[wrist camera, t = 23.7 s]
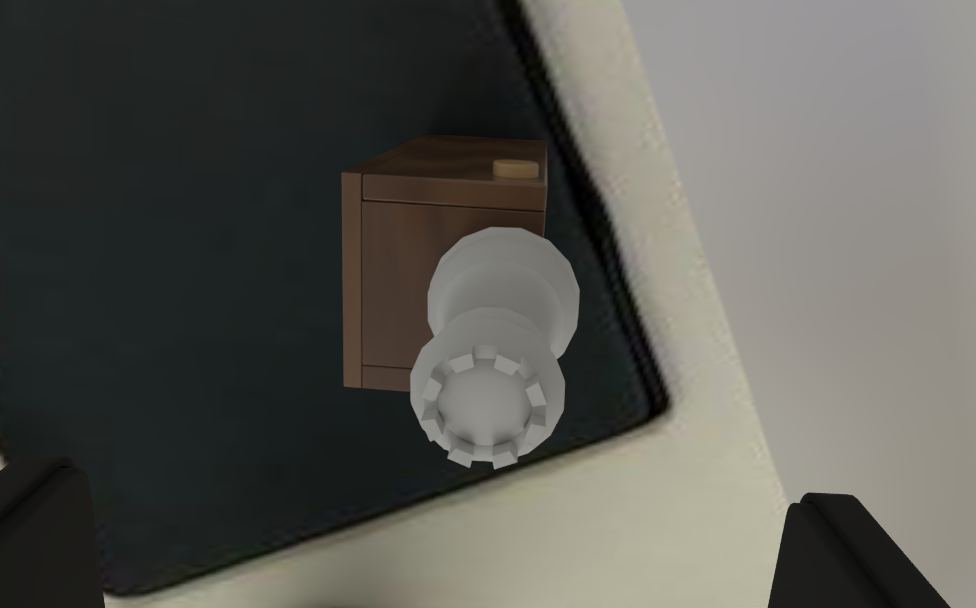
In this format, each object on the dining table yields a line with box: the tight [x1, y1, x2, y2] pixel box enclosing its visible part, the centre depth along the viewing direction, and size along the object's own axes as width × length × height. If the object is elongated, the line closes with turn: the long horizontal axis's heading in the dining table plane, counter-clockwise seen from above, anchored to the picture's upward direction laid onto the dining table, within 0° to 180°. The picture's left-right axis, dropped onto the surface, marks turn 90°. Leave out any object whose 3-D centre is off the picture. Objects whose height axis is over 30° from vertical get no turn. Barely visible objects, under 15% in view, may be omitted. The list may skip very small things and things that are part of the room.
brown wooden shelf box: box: [342, 134, 547, 392], centre depth 29 cm, size 15×8×6 cm
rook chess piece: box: [410, 227, 580, 469], centre depth 18 cm, size 4×4×8 cm
